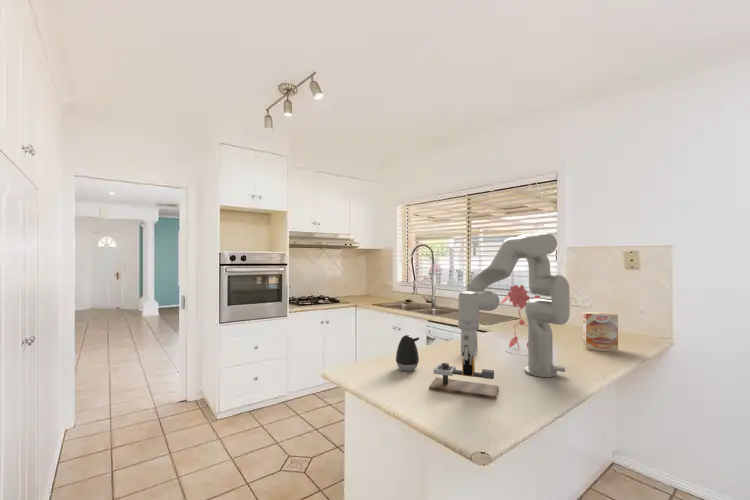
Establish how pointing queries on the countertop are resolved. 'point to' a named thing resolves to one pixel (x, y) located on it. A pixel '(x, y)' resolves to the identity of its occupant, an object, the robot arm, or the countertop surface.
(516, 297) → the red flower sprig
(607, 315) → the coffeecake box
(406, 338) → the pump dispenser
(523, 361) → the countertop surface
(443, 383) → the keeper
